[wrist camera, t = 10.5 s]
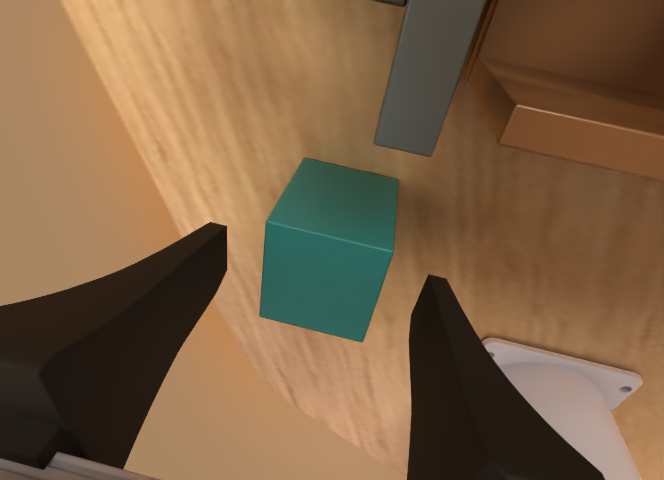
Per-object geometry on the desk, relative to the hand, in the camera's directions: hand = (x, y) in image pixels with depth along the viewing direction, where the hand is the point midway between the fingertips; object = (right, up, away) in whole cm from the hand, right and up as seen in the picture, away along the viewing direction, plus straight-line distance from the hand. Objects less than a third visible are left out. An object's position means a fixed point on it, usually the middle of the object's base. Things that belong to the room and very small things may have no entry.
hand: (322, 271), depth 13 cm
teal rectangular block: (+1, +2, +3) cm, 4 cm away
